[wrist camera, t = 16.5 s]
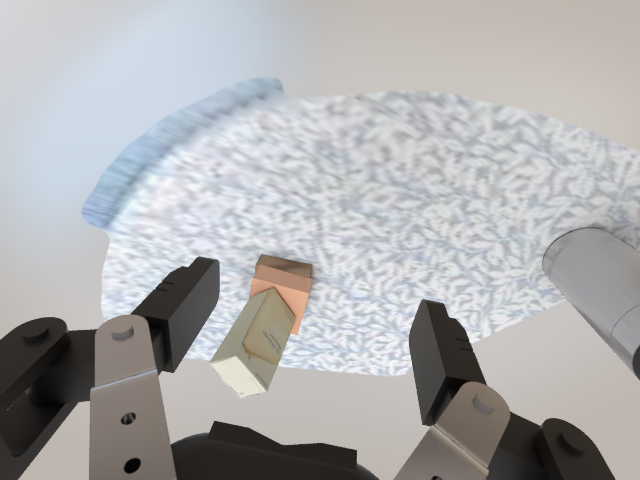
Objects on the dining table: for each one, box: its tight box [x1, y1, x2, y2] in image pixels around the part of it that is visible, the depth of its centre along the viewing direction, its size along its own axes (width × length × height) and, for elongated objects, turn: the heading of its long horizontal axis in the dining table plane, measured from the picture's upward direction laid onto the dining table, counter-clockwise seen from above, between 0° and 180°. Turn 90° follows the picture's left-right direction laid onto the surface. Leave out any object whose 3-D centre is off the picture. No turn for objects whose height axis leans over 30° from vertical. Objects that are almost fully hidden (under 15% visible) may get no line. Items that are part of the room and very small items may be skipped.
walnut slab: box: [255, 255, 312, 278], centre depth 51 cm, size 8×8×4 cm
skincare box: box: [209, 288, 296, 399], centre depth 41 cm, size 6×4×12 cm
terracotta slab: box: [249, 265, 313, 335], centre depth 48 cm, size 8×8×4 cm
